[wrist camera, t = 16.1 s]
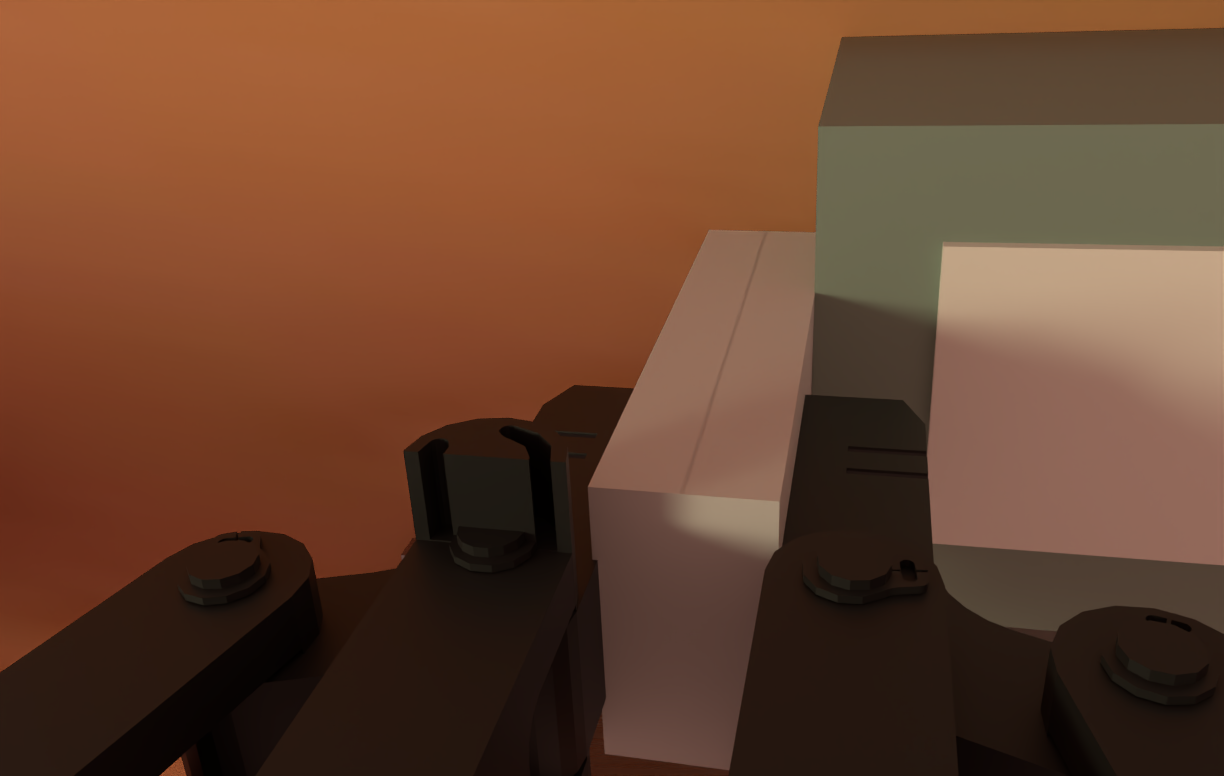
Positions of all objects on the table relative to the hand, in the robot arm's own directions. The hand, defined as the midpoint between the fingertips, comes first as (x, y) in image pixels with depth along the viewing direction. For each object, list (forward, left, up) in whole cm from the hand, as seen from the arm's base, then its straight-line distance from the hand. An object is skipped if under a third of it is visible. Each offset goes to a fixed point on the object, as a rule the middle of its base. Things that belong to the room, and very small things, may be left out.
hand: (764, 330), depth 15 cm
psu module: (+4, 0, -4) cm, 6 cm away
